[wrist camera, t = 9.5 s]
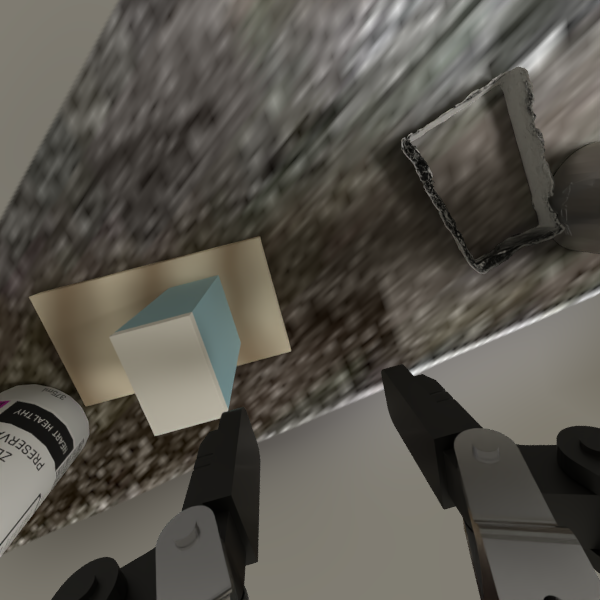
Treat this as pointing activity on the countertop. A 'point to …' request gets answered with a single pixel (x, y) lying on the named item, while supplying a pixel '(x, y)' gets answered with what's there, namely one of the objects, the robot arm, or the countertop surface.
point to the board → (140, 293)
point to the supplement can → (34, 450)
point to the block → (181, 355)
